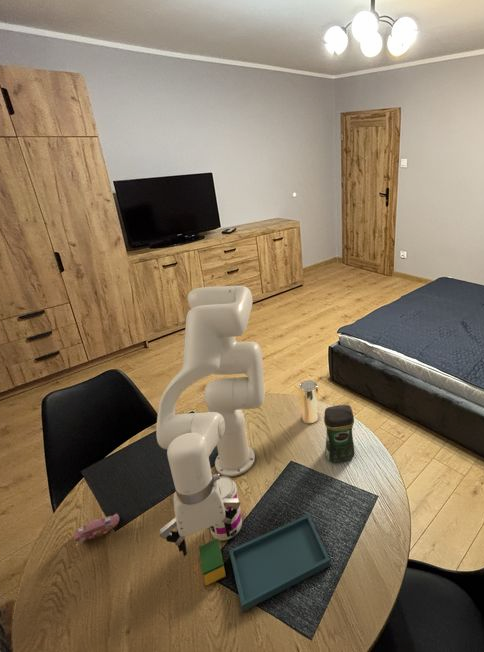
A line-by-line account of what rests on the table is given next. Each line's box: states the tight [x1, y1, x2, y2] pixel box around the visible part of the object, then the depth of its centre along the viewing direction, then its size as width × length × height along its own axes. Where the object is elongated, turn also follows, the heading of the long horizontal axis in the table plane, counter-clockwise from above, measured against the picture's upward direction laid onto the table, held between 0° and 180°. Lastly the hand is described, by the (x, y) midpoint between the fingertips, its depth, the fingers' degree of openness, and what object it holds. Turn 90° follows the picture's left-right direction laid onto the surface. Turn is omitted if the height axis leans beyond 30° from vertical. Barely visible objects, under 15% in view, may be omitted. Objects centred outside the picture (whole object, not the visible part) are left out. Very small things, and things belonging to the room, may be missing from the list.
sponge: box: [198, 538, 226, 586], centre depth 90 cm, size 7×5×5 cm, turn 27°
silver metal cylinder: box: [298, 379, 319, 424], centre depth 137 cm, size 7×7×15 cm
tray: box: [228, 514, 331, 613], centre depth 91 cm, size 14×22×2 cm, turn 117°
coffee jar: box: [323, 404, 355, 463], centre depth 120 cm, size 10×8×19 cm
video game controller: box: [73, 513, 120, 543], centre depth 97 cm, size 10×5×7 cm, turn 118°
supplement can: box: [209, 475, 243, 542], centre depth 97 cm, size 8×8×15 cm
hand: (206, 540), depth 86 cm, fingers open, 9 cm apart
